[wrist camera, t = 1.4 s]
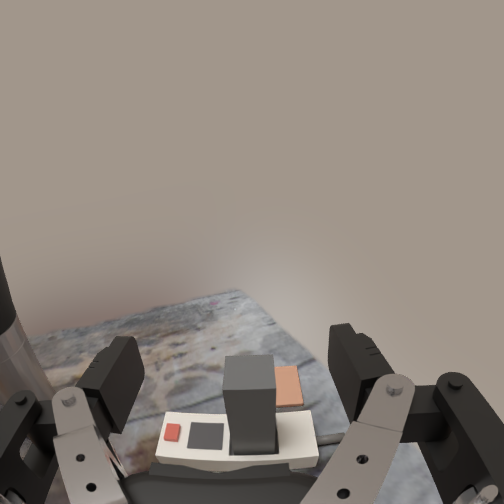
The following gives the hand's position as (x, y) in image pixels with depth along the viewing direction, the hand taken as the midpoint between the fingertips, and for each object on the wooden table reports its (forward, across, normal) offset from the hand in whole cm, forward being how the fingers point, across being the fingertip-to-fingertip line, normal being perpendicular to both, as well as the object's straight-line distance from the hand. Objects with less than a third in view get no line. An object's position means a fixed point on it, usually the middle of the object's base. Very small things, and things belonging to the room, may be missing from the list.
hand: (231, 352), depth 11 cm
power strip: (+12, 0, +24) cm, 27 cm away
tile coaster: (+23, -3, +23) cm, 33 cm away
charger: (+12, 0, +22) cm, 25 cm away
